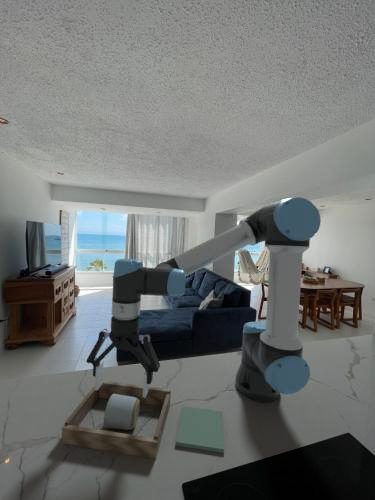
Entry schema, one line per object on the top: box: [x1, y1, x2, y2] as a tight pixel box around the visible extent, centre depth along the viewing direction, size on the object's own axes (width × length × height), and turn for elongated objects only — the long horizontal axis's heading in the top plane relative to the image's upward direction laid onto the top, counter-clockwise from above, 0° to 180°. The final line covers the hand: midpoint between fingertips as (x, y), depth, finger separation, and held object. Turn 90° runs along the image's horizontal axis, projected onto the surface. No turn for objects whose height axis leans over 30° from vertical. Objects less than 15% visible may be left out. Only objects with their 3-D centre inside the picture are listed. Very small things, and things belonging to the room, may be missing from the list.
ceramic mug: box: [103, 394, 141, 430], centre depth 62 cm, size 11×8×8 cm
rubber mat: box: [175, 405, 225, 454], centre depth 60 cm, size 12×12×1 cm
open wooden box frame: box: [61, 380, 172, 459], centre depth 61 cm, size 24×17×5 cm
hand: (121, 390), depth 61 cm, fingers open, 13 cm apart
